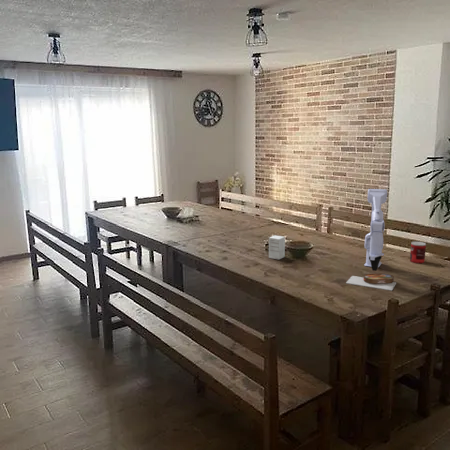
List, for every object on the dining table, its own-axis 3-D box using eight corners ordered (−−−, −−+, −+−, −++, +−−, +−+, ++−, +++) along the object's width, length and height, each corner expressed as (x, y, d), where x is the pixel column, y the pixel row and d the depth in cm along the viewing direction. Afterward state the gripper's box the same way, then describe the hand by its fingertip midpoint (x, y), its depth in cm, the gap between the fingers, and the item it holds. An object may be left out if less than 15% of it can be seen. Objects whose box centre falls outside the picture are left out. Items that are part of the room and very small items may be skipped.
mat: (352, 276, 236) (352, 275, 236) (396, 283, 225) (396, 282, 225) (345, 283, 226) (345, 282, 226) (391, 290, 215) (391, 289, 215)
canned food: (413, 258, 266) (414, 240, 263) (426, 261, 260) (428, 243, 258) (407, 261, 261) (408, 243, 258) (421, 264, 255) (422, 245, 253)
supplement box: (274, 255, 277) (274, 235, 274) (285, 256, 273) (285, 236, 270) (268, 257, 271) (268, 237, 268) (279, 259, 267) (279, 239, 264)
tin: (390, 273, 231) (396, 277, 223) (389, 279, 231) (396, 283, 223) (361, 273, 230) (366, 278, 222) (360, 279, 231) (366, 284, 223)
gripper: (381, 248, 219) (379, 275, 222) (387, 242, 231) (385, 267, 234) (366, 247, 222) (365, 273, 225) (373, 240, 235) (371, 265, 238)
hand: (374, 270), depth 230 cm, fingers closed
